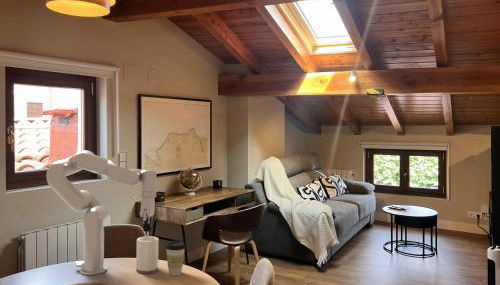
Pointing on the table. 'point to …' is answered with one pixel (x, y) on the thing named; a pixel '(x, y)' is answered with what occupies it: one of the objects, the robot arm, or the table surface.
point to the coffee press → (147, 255)
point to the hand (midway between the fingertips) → (147, 229)
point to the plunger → (148, 231)
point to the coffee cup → (175, 257)
